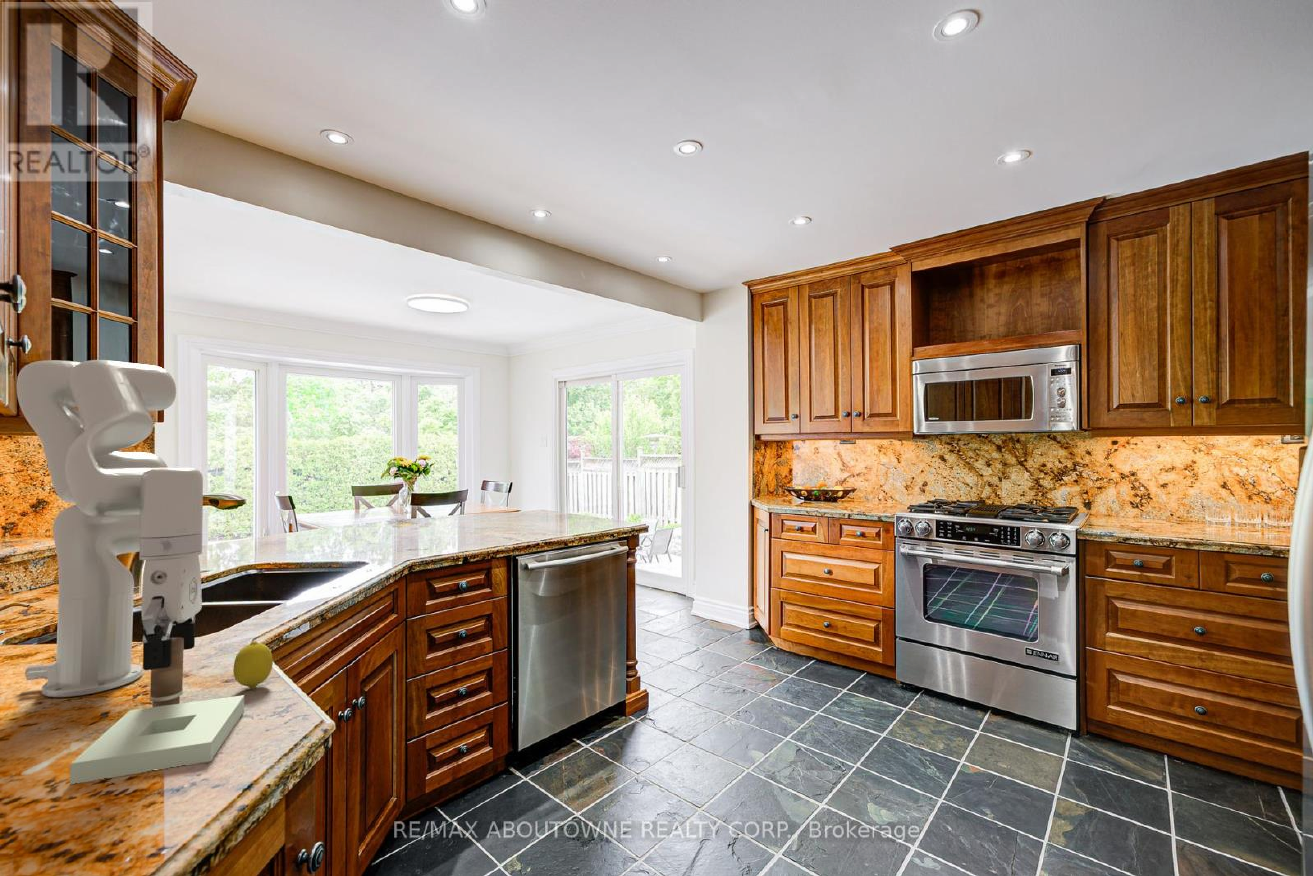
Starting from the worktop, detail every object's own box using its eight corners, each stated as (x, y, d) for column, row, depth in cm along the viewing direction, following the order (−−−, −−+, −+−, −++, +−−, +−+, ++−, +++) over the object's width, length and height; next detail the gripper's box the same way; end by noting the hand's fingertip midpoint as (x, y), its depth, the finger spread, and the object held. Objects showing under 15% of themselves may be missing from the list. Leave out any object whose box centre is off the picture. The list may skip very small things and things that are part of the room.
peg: (144, 720, 87) (146, 646, 87) (155, 709, 91) (157, 639, 91) (176, 716, 89) (178, 643, 89) (186, 705, 92) (188, 636, 93)
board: (69, 784, 70) (70, 763, 70) (129, 727, 85) (130, 710, 85) (210, 761, 75) (211, 742, 76) (243, 711, 90) (244, 695, 90)
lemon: (237, 685, 100) (238, 638, 101) (275, 680, 103) (276, 635, 103) (228, 697, 95) (229, 648, 96) (268, 692, 98) (269, 644, 98)
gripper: (181, 552, 84) (179, 672, 83) (218, 539, 100) (217, 640, 99) (114, 556, 81) (112, 681, 80) (163, 542, 97) (162, 646, 96)
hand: (170, 658), depth 90 cm, fingers open, 9 cm apart
